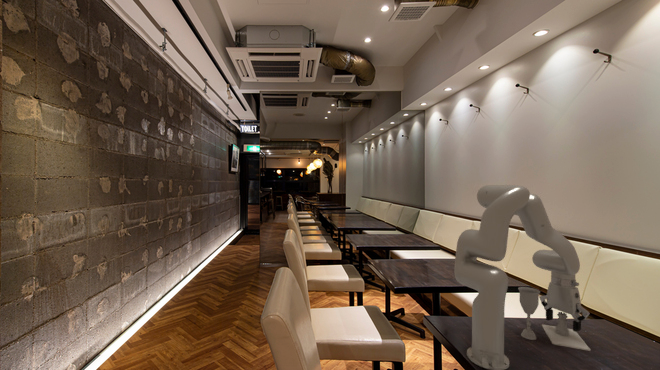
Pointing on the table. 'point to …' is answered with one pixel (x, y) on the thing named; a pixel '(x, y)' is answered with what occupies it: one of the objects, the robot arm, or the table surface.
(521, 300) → the chalice
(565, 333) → the rook chess piece
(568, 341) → the grey mat
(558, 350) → the table surface
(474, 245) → the robot arm
